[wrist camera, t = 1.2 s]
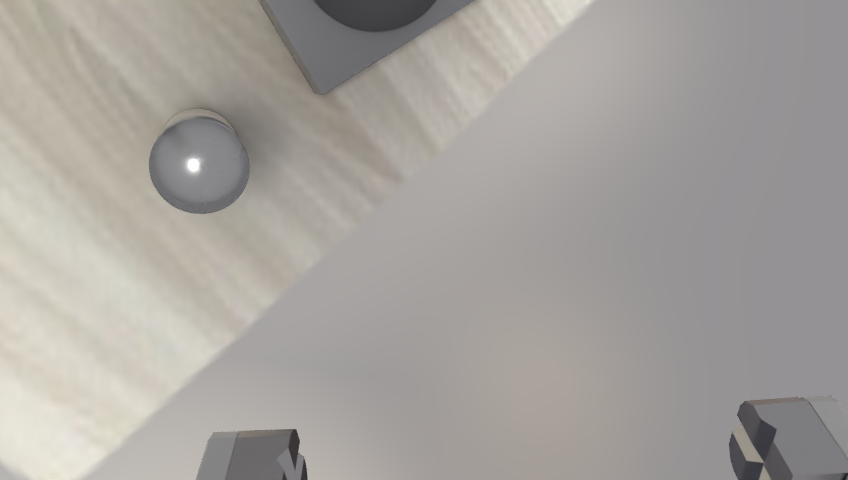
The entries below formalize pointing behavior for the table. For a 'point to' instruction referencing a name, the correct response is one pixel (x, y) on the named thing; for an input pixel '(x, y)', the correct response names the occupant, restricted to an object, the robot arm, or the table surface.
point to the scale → (350, 32)
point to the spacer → (199, 162)
